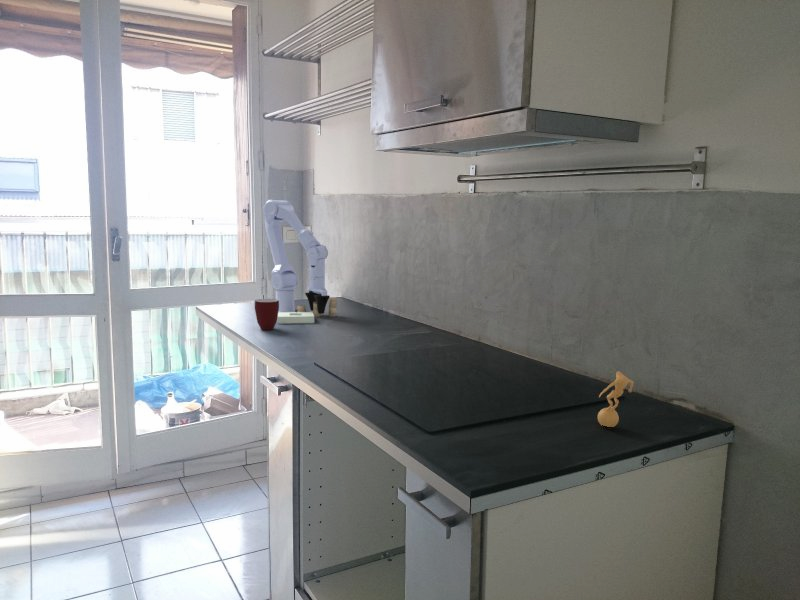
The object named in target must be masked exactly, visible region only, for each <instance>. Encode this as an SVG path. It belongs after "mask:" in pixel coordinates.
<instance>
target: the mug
mask: <svg viewBox="0 0 800 600" xmlns="http://www.w3.org/2000/svg"><path fill="white" fill-rule="evenodd" d="M254 311H255V316H256V317H255V318H256V322H257V324H258V326H259V327H260V330H262V331H272V330H274V329H275V327H276V325H277V323H278V311H279V300H277V299H276V298H259V299H255V300H254Z"/></svg>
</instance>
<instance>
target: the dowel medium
mask: <svg viewBox="0 0 800 600" xmlns="http://www.w3.org/2000/svg"><path fill="white" fill-rule="evenodd" d="M312 312H313V314H314V318H321V317H322V314H318V309H317V302H313V311H312Z"/></svg>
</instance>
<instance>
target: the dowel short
mask: <svg viewBox="0 0 800 600" xmlns="http://www.w3.org/2000/svg"><path fill="white" fill-rule="evenodd" d="M296 308H297V311H296V312H306V305H297V307H296Z"/></svg>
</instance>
